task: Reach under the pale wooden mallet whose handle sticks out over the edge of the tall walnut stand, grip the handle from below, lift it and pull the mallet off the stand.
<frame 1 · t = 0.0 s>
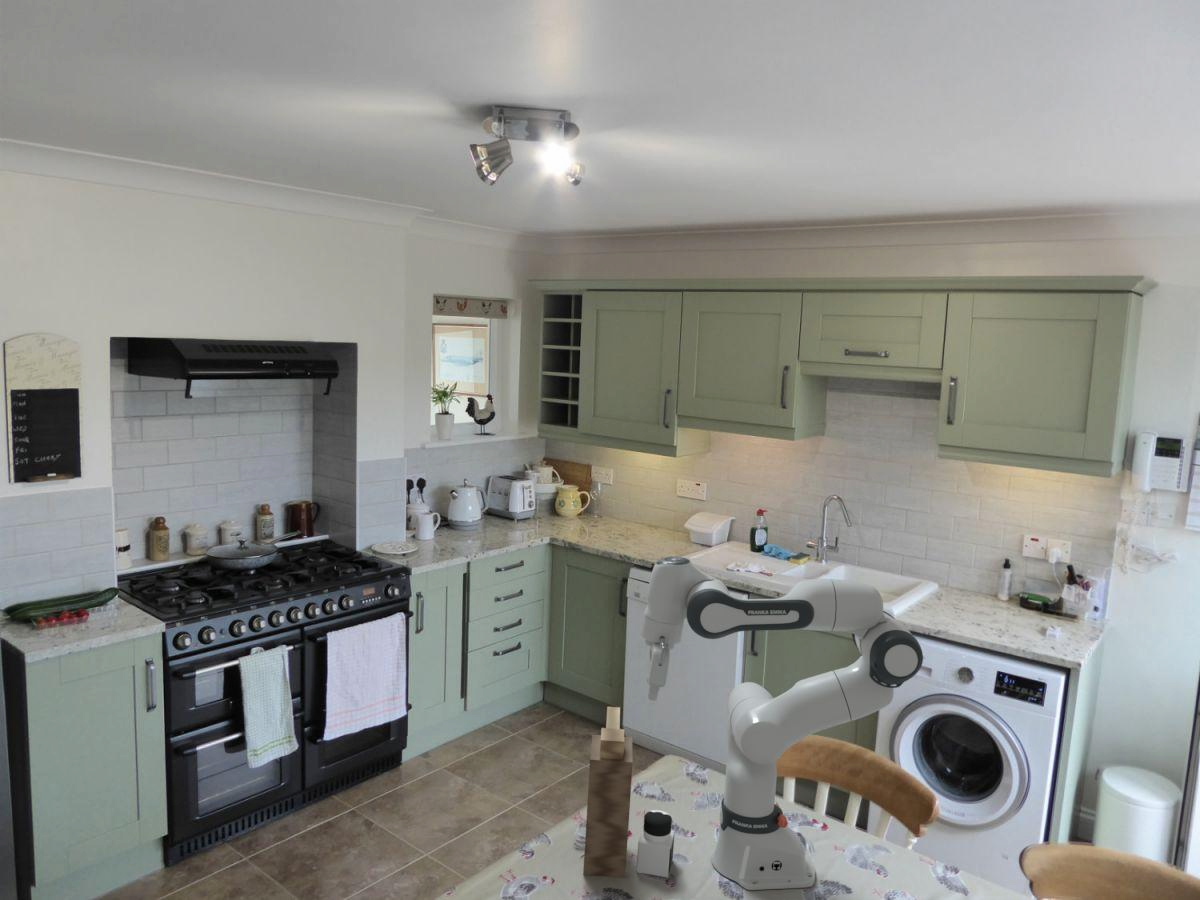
hand: (651, 690, 190), 39 cm above the table, tool pointing down, fingers open, 8 cm apart
medicine bottle: (654, 867, 191), on the table
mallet: (612, 740, 193), point 26 cm above the table, touching stand
stand: (604, 859, 192), on the table
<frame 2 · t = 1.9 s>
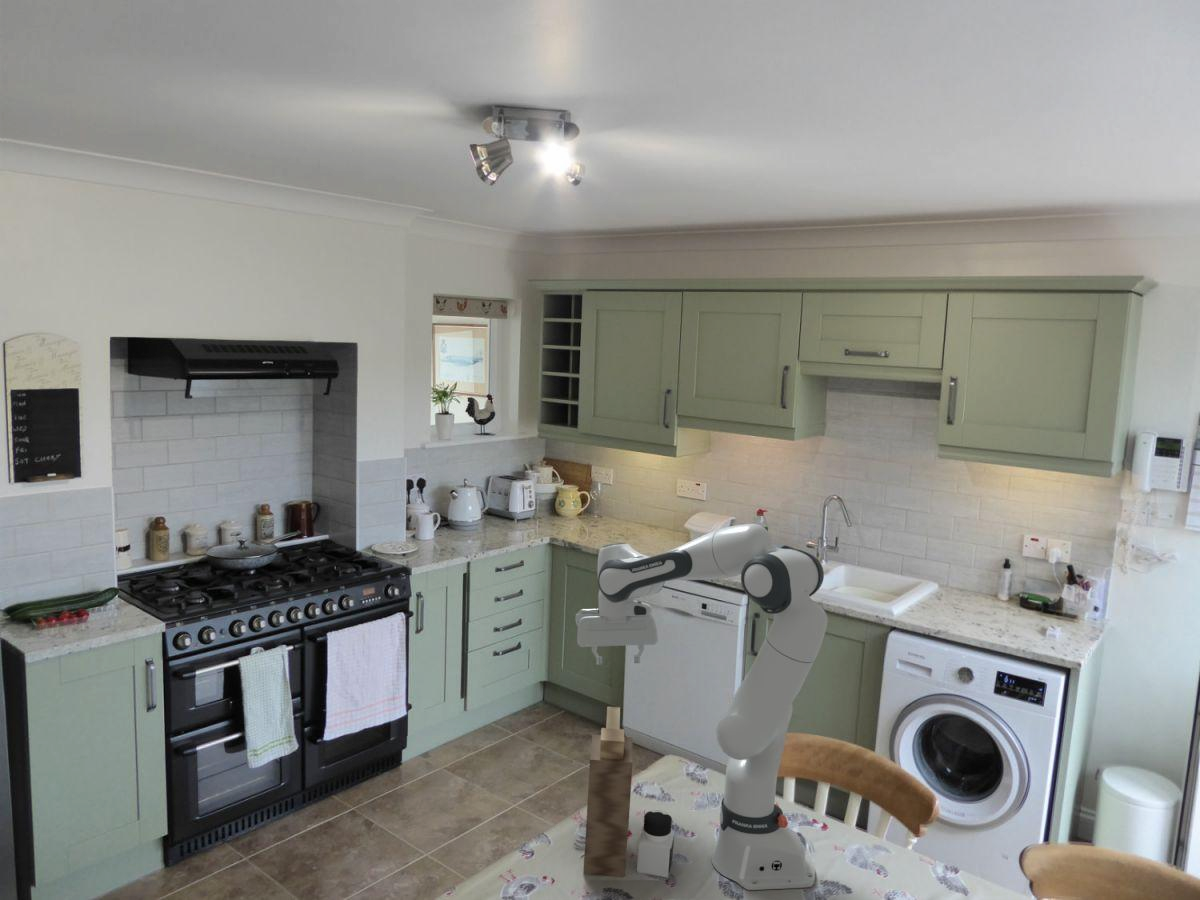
hand: (618, 663, 217), 34 cm above the table, tool pointing down, fingers open, 8 cm apart
nothing on the table moved.
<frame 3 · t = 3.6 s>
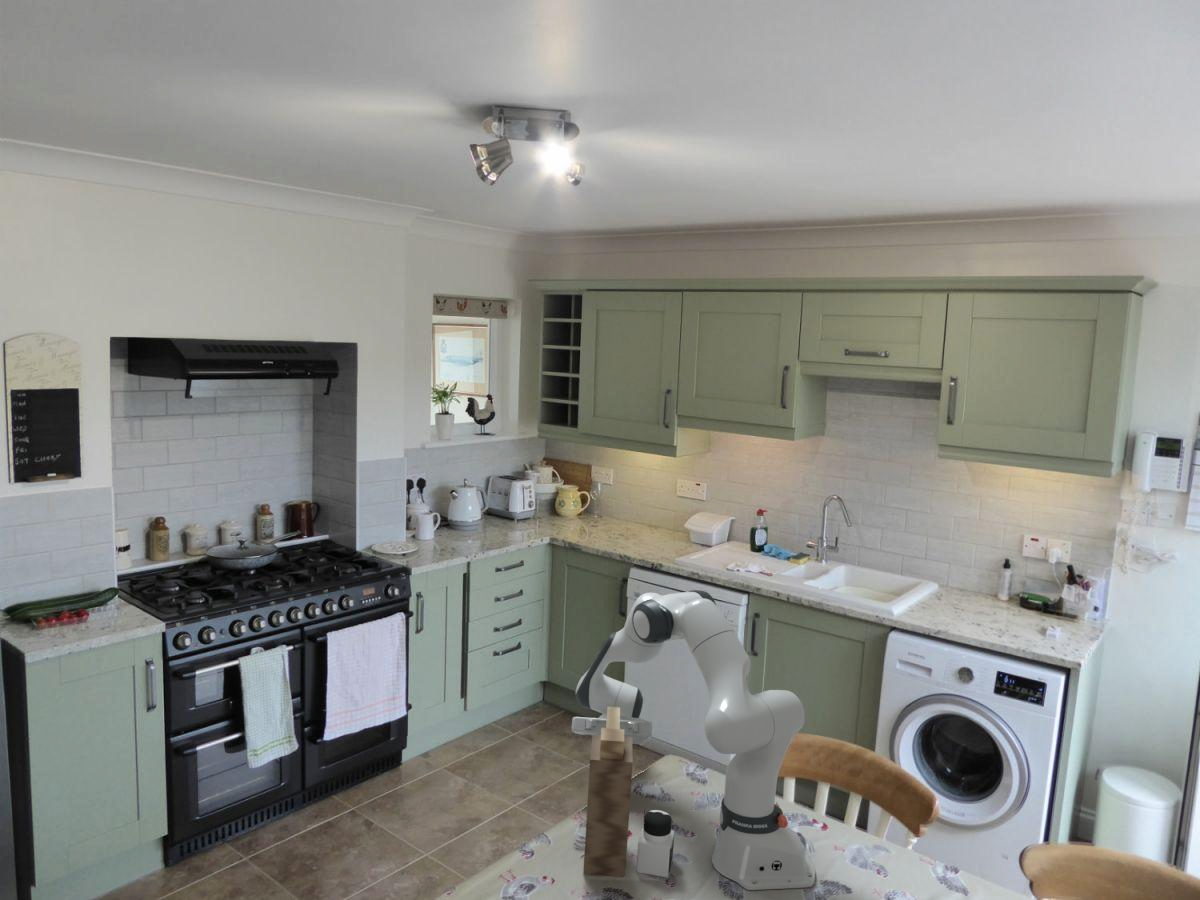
hand: (612, 724, 213), 21 cm above the table, tool pointing upward, fingers open, 8 cm apart
nothing on the table moved.
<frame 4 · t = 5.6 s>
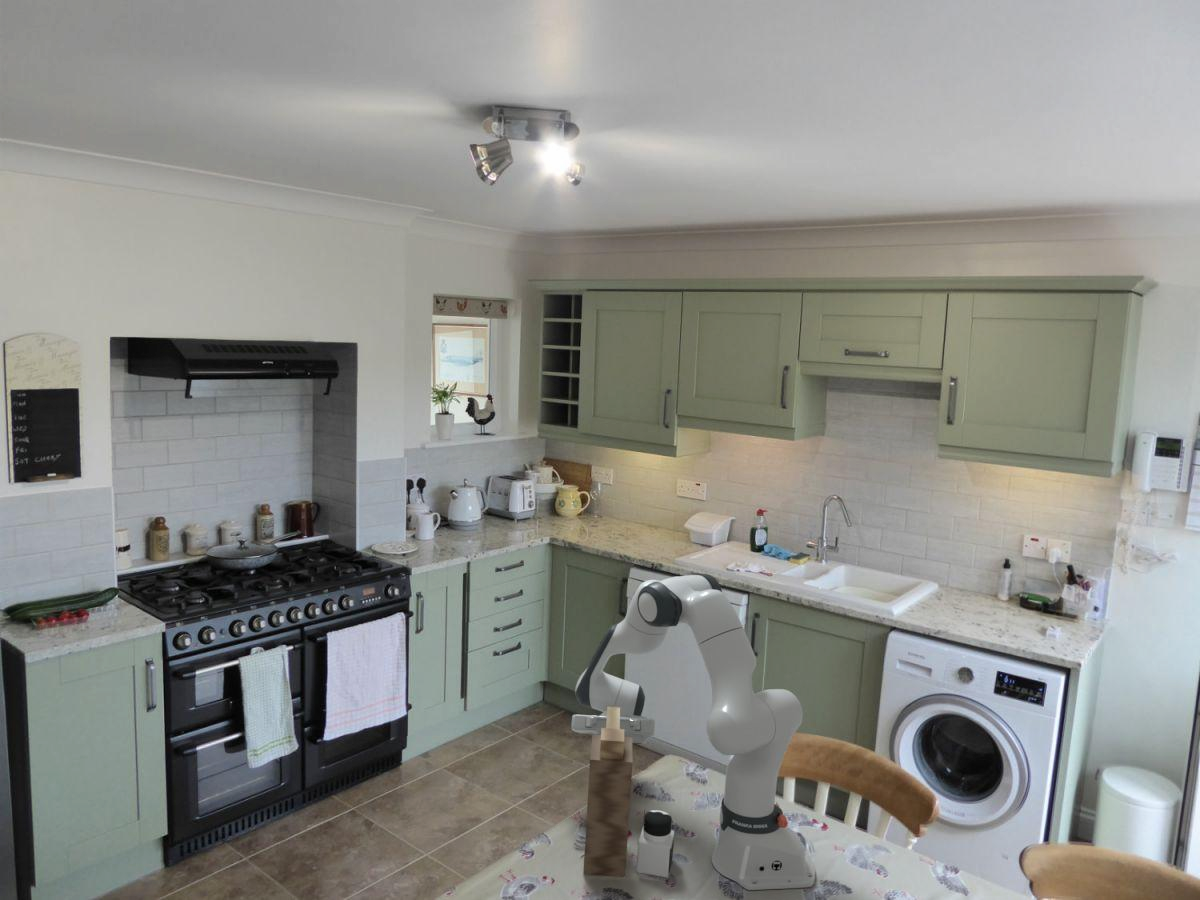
hand: (613, 721, 206), 25 cm above the table, tool pointing upward, fingers open, 8 cm apart
nothing on the table moved.
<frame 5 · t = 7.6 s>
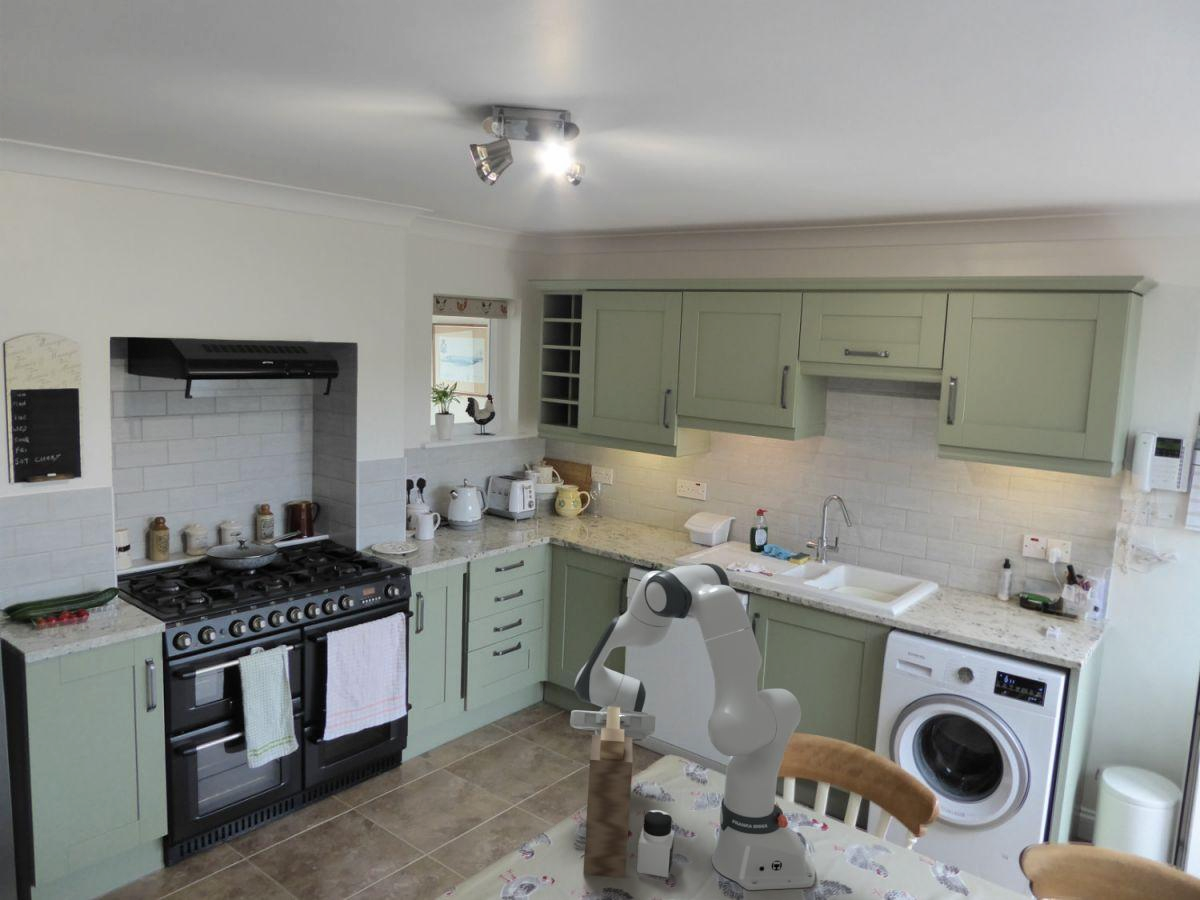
hand: (613, 717, 200), 28 cm above the table, tool pointing upward, fingers closed on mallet, 3 cm apart
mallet: (612, 740, 193), point 26 cm above the table, touching gripper, stand
everything else where it was.
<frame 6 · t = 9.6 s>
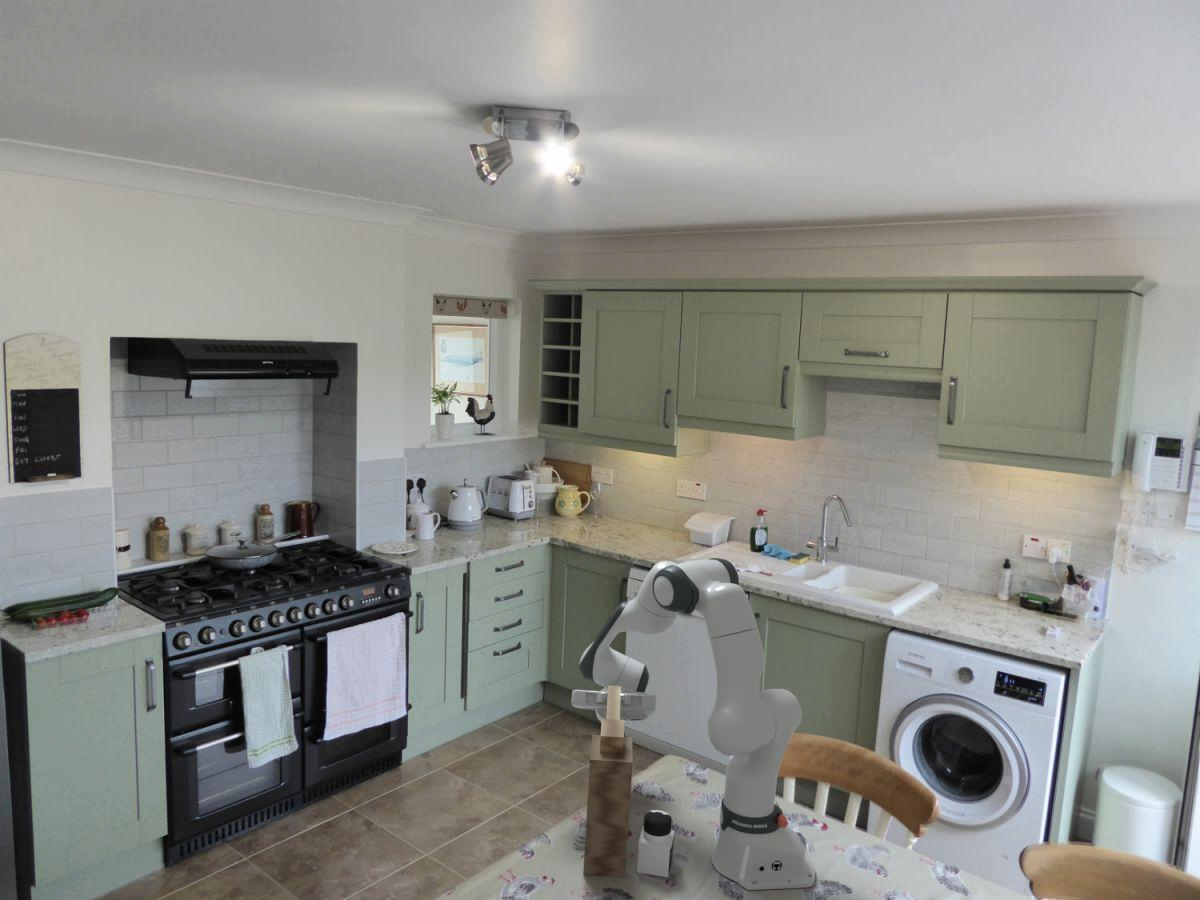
hand: (614, 697, 202), 32 cm above the table, tool pointing upward, fingers closed on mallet, 3 cm apart
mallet: (612, 725, 196), point 28 cm above the table, tilted 13°, touching gripper
everything else where it was.
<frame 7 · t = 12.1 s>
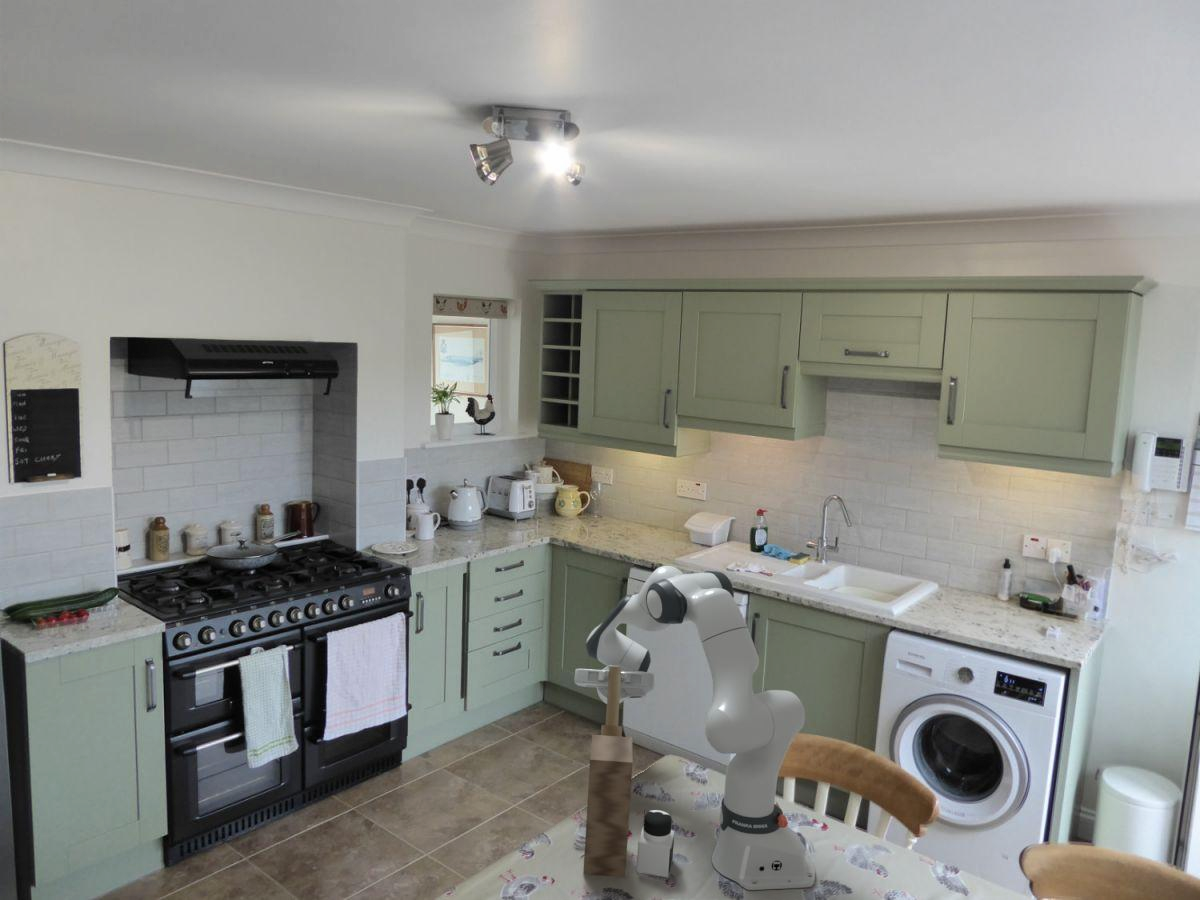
hand: (614, 674, 215), 32 cm above the table, tool pointing upward, fingers closed on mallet, 3 cm apart
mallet: (612, 713, 215), point 23 cm above the table, tilted 64°, touching gripper
everything else where it was.
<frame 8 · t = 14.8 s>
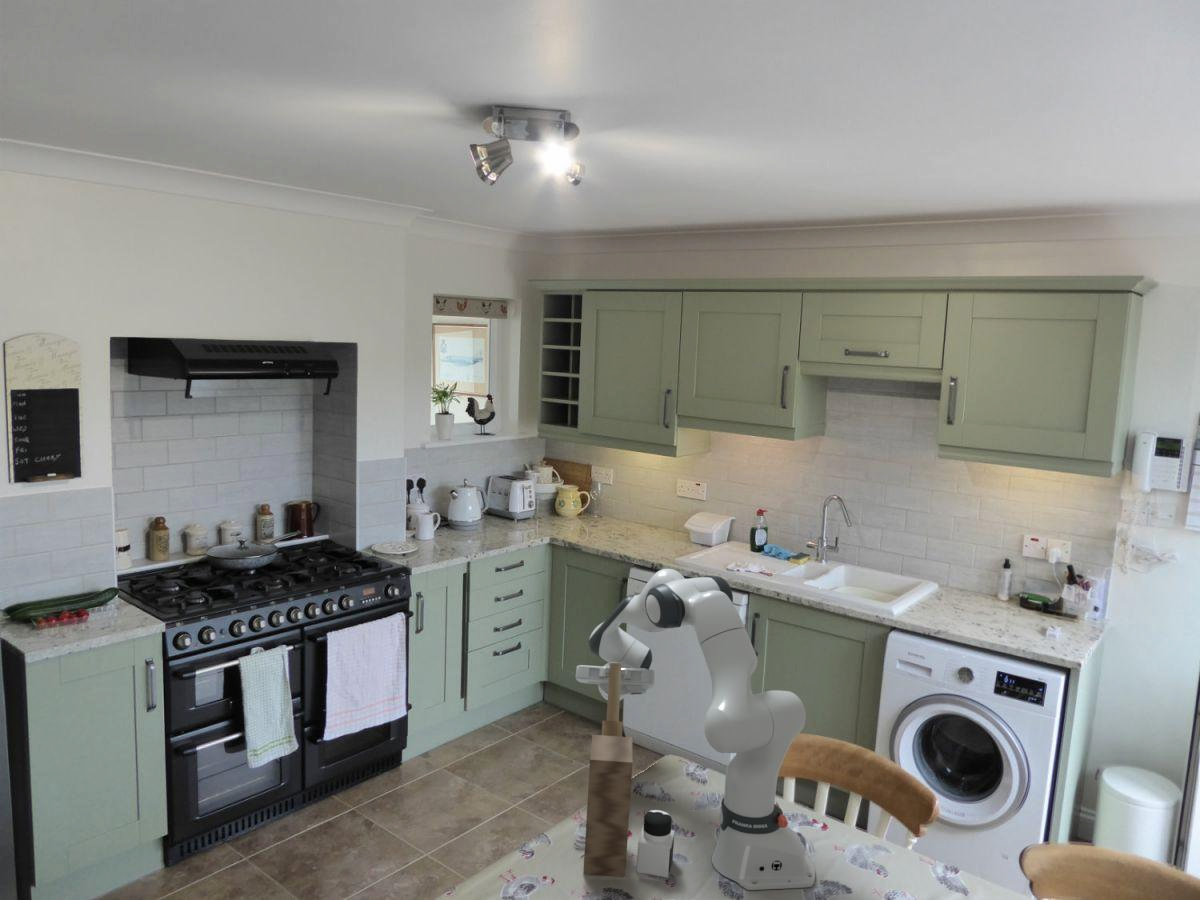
hand: (615, 671, 218), 32 cm above the table, tool pointing upward, fingers closed on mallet, 3 cm apart
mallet: (613, 709, 218), point 23 cm above the table, tilted 64°, touching gripper
everything else where it was.
at the end: the gripper is holding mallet; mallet touching gripper; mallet point 22.8 cm above the table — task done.
